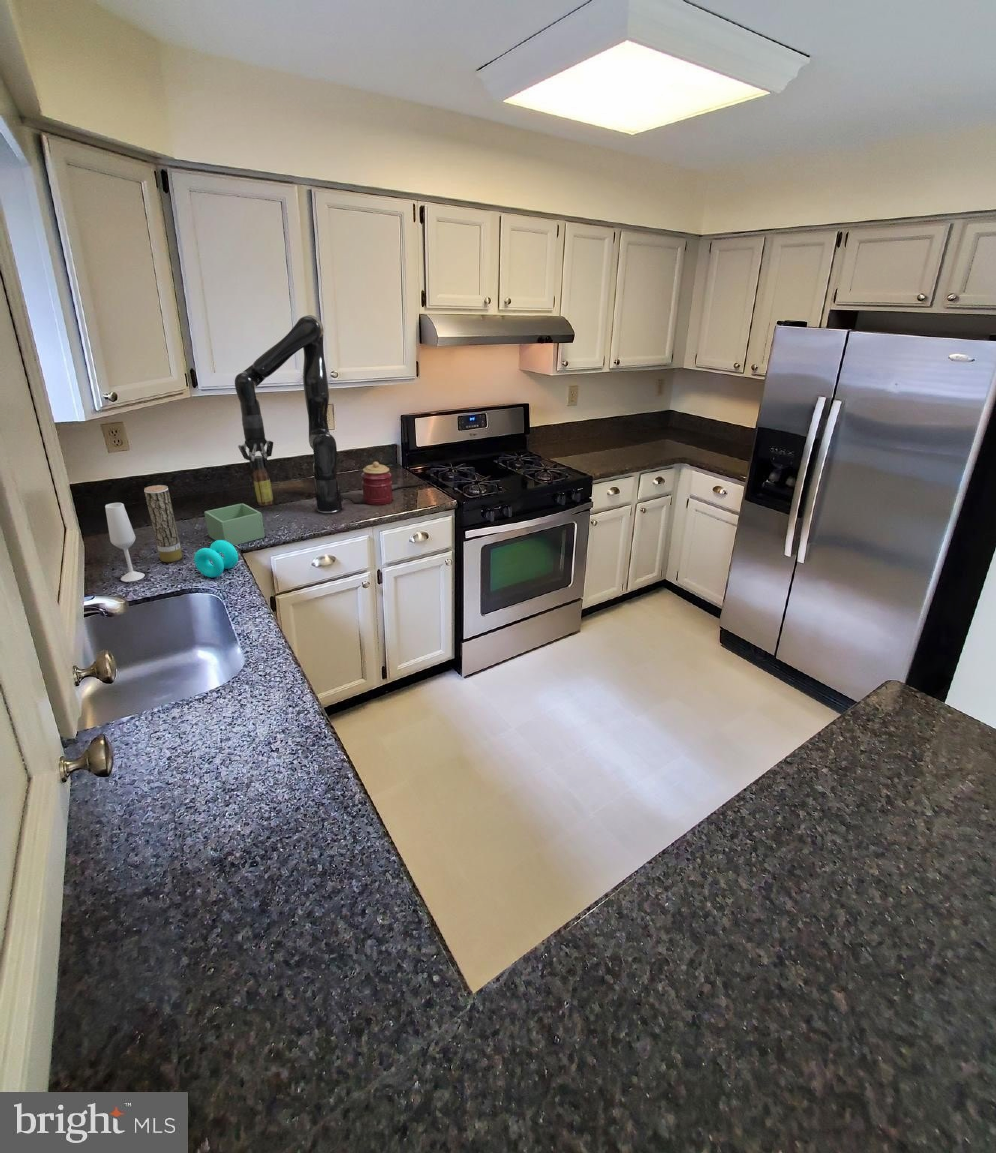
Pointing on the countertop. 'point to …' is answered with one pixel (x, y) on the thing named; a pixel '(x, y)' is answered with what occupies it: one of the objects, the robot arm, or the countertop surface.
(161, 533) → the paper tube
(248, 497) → the countertop surface
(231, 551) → the turquoise yo-yo
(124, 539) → the champagne flute
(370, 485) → the kitchen canister
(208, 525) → the bin
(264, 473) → the sauce bottle
